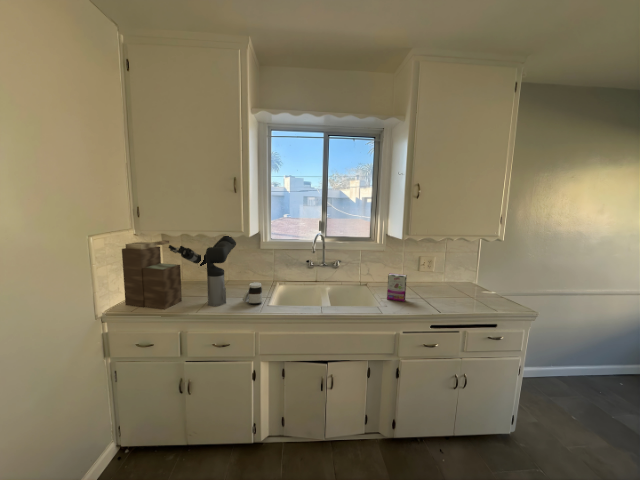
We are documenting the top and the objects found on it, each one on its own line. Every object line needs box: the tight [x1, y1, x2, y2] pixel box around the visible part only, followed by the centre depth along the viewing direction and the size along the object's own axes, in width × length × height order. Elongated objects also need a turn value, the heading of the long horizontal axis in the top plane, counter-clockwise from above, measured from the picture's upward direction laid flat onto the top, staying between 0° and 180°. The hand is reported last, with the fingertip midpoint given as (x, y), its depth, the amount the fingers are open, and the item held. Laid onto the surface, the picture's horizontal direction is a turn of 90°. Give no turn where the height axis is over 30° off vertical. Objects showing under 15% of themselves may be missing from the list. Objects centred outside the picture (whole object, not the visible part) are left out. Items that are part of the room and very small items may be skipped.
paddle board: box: [125, 240, 170, 250], centre depth 156 cm, size 24×10×2 cm, turn 168°
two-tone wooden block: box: [121, 245, 183, 310], centre depth 150 cm, size 14×25×32 cm, turn 78°
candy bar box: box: [386, 273, 408, 303], centre depth 169 cm, size 11×5×16 cm, turn 68°
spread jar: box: [242, 281, 263, 306], centre depth 157 cm, size 12×11×12 cm
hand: (174, 246), depth 175 cm, fingers open, 8 cm apart
